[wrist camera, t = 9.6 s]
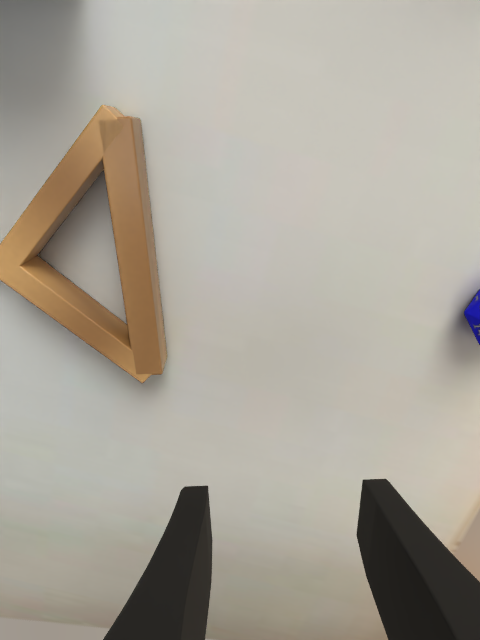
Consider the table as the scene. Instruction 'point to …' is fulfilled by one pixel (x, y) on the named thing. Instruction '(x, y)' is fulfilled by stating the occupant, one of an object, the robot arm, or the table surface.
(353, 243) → the table surface
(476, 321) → the die
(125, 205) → the hanger
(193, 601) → the robot arm
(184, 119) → the table surface
